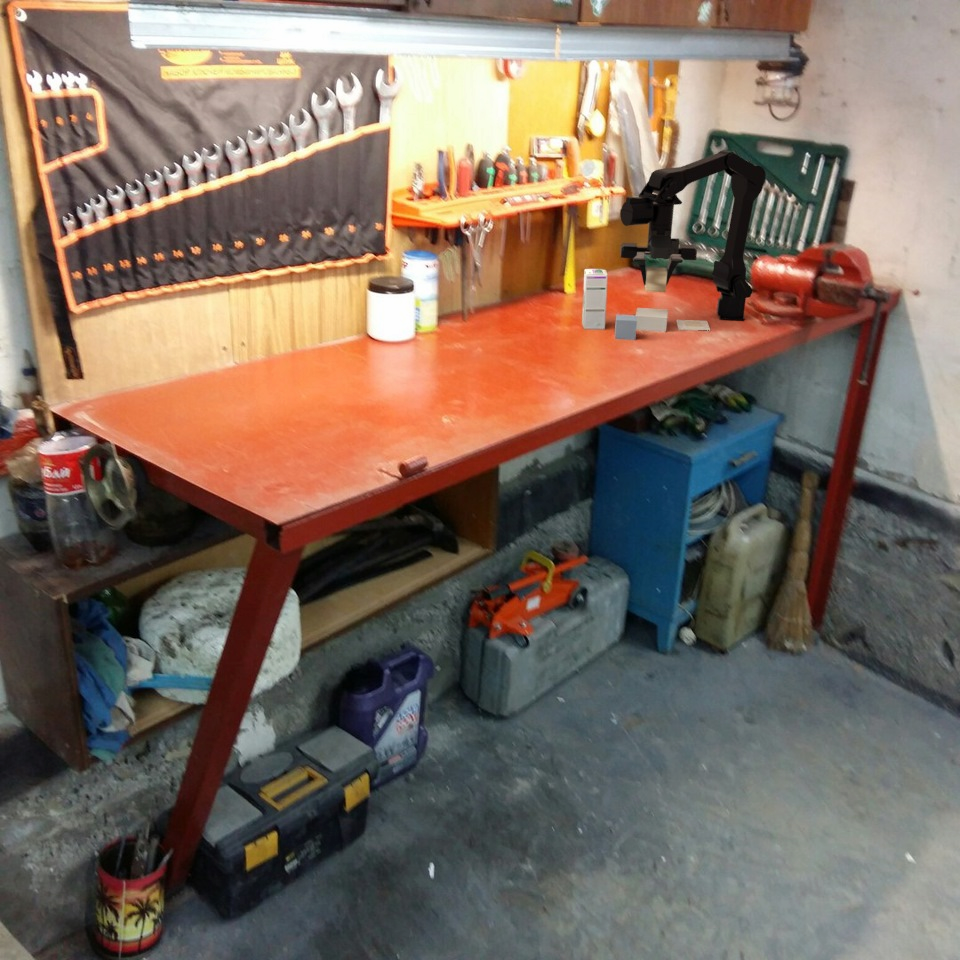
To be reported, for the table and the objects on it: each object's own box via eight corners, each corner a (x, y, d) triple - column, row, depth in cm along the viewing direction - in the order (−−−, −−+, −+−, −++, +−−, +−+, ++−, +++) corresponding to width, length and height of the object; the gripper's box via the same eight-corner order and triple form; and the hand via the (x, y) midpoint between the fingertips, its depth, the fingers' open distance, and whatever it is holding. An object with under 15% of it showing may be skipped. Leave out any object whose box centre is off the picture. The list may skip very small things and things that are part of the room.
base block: (666, 324, 259) (668, 309, 258) (665, 333, 252) (667, 318, 250) (636, 322, 261) (637, 307, 259) (634, 330, 254) (635, 315, 252)
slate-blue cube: (634, 334, 250) (636, 315, 248) (635, 340, 246) (636, 320, 243) (614, 333, 250) (616, 314, 248) (615, 339, 246) (616, 320, 244)
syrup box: (605, 329, 253) (609, 273, 247) (582, 329, 253) (585, 273, 247) (603, 323, 258) (607, 268, 252) (580, 323, 258) (583, 268, 252)
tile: (706, 322, 260) (706, 320, 260) (710, 331, 253) (710, 328, 253) (676, 321, 261) (676, 318, 261) (678, 329, 254) (678, 327, 254)
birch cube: (664, 287, 254) (665, 267, 252) (665, 292, 249) (667, 272, 247) (644, 286, 254) (646, 267, 252) (645, 291, 250) (647, 271, 248)
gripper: (624, 228, 238) (619, 291, 245) (702, 230, 237) (695, 294, 243) (622, 219, 248) (618, 281, 255) (697, 221, 247) (690, 283, 253)
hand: (655, 285), depth 251 cm, fingers closed on birch cube, 5 cm apart
